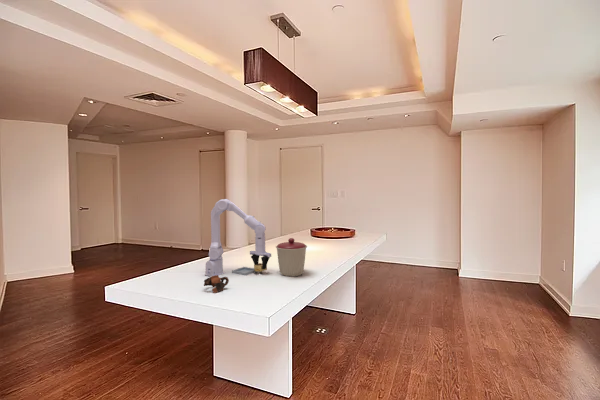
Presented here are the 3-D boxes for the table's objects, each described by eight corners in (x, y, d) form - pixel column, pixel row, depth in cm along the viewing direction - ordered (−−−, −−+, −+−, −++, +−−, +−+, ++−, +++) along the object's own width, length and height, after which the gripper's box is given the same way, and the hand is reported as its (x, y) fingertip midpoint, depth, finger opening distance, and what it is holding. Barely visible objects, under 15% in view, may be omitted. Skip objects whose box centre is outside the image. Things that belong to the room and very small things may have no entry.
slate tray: (245, 276, 184) (245, 273, 184) (231, 273, 190) (231, 270, 190) (257, 272, 193) (257, 269, 193) (244, 269, 199) (244, 266, 199)
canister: (308, 270, 196) (308, 235, 195) (306, 279, 178) (305, 240, 177) (278, 270, 197) (278, 235, 196) (273, 278, 179) (272, 240, 178)
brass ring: (259, 272, 184) (259, 266, 184) (252, 270, 187) (252, 265, 187) (266, 269, 190) (266, 264, 190) (259, 268, 192) (259, 263, 192)
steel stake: (261, 276, 184) (261, 270, 184) (251, 274, 188) (251, 268, 188) (269, 273, 190) (269, 267, 190) (259, 271, 194) (259, 266, 194)
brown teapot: (207, 295, 153) (202, 279, 156) (207, 298, 162) (202, 282, 164) (232, 286, 158) (226, 270, 160) (230, 289, 166) (225, 274, 169)
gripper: (274, 244, 188) (274, 268, 188) (255, 242, 195) (255, 265, 196) (266, 246, 182) (267, 270, 182) (247, 244, 190) (247, 267, 190)
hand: (260, 268), depth 189 cm, fingers closed on brass ring, 5 cm apart
